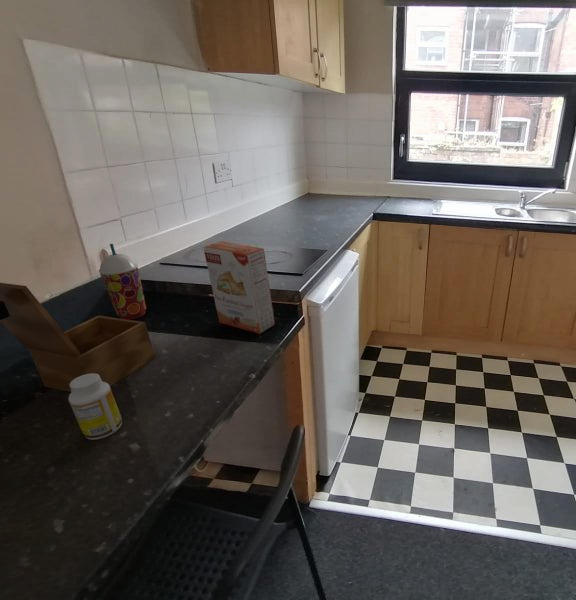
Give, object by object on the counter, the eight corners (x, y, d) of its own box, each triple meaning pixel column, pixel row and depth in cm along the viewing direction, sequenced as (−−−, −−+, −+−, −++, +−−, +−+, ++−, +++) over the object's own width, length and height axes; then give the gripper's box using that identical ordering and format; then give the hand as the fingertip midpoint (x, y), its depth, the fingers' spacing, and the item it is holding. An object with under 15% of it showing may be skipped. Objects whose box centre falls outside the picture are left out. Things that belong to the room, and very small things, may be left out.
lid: (-32, 278, 66) (-37, 281, 66) (26, 285, 63) (21, 288, 63) (29, 344, 76) (24, 348, 75) (81, 353, 73) (77, 357, 73)
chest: (110, 349, 92) (98, 315, 89) (155, 357, 90) (145, 321, 86) (44, 386, 80) (27, 348, 76) (95, 396, 77) (80, 357, 73)
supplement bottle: (110, 415, 72) (92, 367, 68) (130, 424, 70) (113, 374, 66) (76, 435, 67) (54, 385, 63) (97, 445, 65) (76, 394, 61)
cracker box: (217, 324, 104) (201, 246, 95) (235, 315, 109) (221, 239, 100) (259, 335, 98) (245, 253, 90) (276, 325, 103) (264, 246, 95)
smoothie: (124, 309, 112) (102, 239, 104) (156, 308, 113) (136, 238, 105) (108, 323, 104) (83, 249, 96) (142, 321, 105) (120, 248, 97)
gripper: (-244, 411, 48) (-16, 323, 69) (-176, 431, 45) (42, 333, 66) (-288, 358, 45) (-35, 283, 66) (-218, 375, 42) (24, 291, 63)
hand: (3, 308), depth 66 cm, fingers closed
